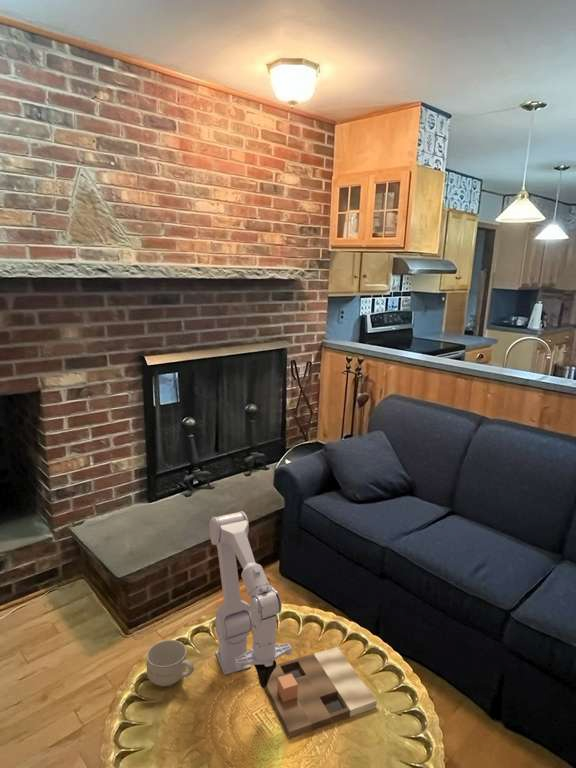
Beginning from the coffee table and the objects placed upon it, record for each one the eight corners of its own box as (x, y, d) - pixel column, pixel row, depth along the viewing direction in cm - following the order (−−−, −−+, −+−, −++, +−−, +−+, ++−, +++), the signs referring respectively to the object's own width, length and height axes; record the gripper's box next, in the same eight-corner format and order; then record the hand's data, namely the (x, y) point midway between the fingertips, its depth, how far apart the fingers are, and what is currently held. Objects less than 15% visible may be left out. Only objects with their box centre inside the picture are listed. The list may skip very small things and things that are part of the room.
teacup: (138, 680, 134) (137, 654, 133) (168, 656, 143) (168, 632, 142) (173, 705, 127) (173, 678, 125) (203, 679, 135) (203, 654, 134)
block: (277, 690, 130) (277, 677, 129) (291, 686, 132) (291, 673, 131) (283, 702, 126) (283, 688, 126) (297, 697, 128) (297, 684, 127)
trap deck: (258, 675, 137) (259, 669, 137) (337, 652, 147) (337, 646, 147) (288, 739, 118) (289, 732, 118) (376, 707, 128) (376, 700, 128)
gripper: (241, 656, 116) (240, 705, 119) (297, 640, 122) (295, 687, 124) (232, 636, 122) (232, 683, 125) (286, 622, 128) (284, 668, 131)
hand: (262, 684), depth 125 cm, fingers closed
